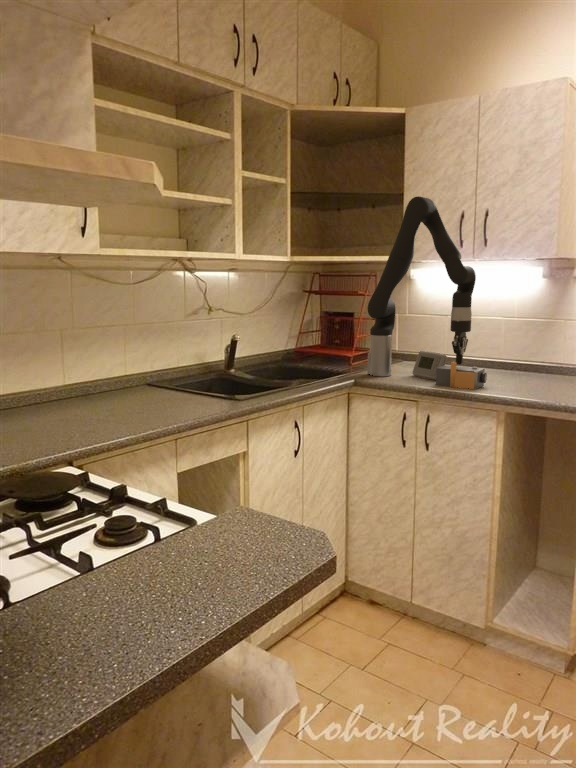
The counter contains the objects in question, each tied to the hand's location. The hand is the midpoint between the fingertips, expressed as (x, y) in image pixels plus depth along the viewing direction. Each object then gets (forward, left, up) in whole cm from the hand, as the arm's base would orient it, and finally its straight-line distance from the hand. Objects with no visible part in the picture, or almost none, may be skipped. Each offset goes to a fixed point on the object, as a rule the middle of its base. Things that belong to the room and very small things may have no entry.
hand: (459, 364), depth 234 cm
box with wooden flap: (+1, 0, -8) cm, 8 cm away
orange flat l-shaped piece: (+4, -5, -8) cm, 10 cm away
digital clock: (-16, +10, -9) cm, 20 cm away
